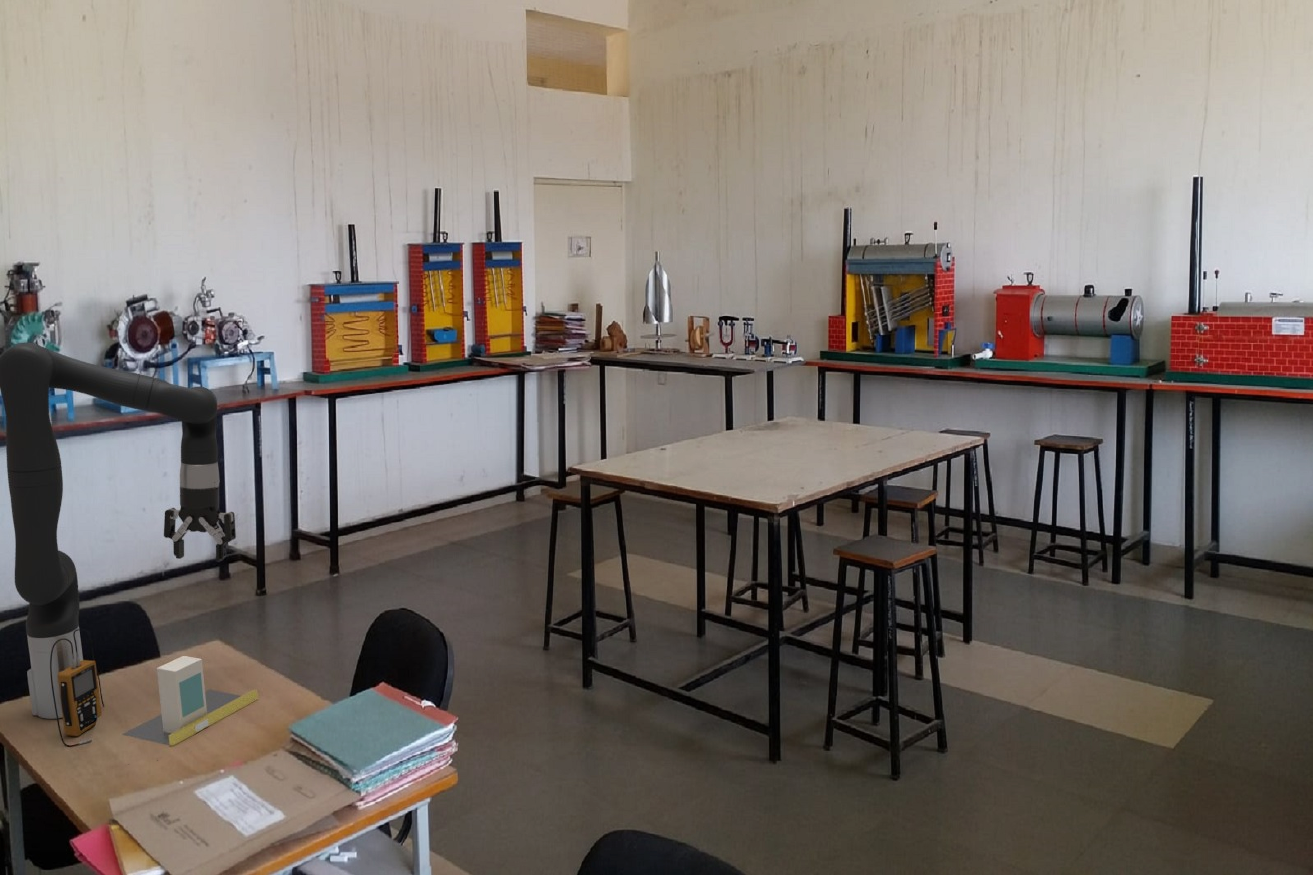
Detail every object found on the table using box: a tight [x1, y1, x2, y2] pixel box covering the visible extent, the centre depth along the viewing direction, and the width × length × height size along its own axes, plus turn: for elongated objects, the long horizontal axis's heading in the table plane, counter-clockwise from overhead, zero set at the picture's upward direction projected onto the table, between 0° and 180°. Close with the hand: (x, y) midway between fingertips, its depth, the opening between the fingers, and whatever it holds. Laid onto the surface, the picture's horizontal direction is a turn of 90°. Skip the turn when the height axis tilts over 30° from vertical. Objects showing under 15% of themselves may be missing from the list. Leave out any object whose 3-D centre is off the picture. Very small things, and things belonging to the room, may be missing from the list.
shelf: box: [122, 689, 259, 747], centre depth 213 cm, size 13×22×4 cm, turn 157°
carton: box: [156, 655, 207, 733], centre depth 207 cm, size 5×6×13 cm
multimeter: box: [50, 628, 105, 748], centre depth 209 cm, size 15×10×20 cm
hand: (200, 559), depth 225 cm, fingers open, 8 cm apart
